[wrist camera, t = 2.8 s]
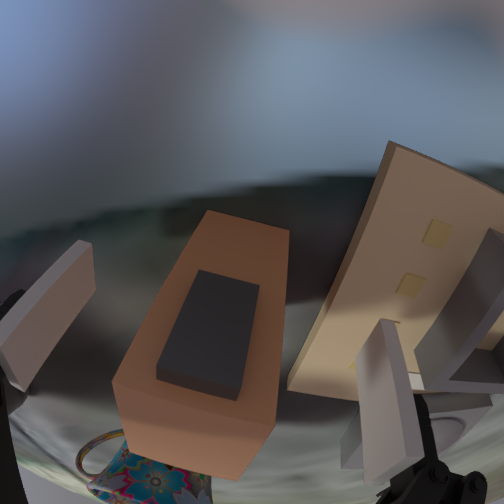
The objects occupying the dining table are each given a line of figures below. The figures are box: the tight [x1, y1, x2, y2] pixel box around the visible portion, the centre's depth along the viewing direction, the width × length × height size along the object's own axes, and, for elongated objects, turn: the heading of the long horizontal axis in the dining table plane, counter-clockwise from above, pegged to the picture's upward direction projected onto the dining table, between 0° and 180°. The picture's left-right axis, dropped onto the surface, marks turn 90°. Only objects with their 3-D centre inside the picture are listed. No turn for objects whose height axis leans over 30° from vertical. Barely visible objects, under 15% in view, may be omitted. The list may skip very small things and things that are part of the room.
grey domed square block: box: [340, 392, 493, 469], centre depth 21 cm, size 10×10×4 cm
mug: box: [76, 429, 213, 504], centre depth 20 cm, size 12×9×11 cm
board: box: [287, 141, 504, 401], centre depth 15 cm, size 16×16×4 cm
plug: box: [112, 210, 290, 481], centre depth 12 cm, size 4×6×10 cm
